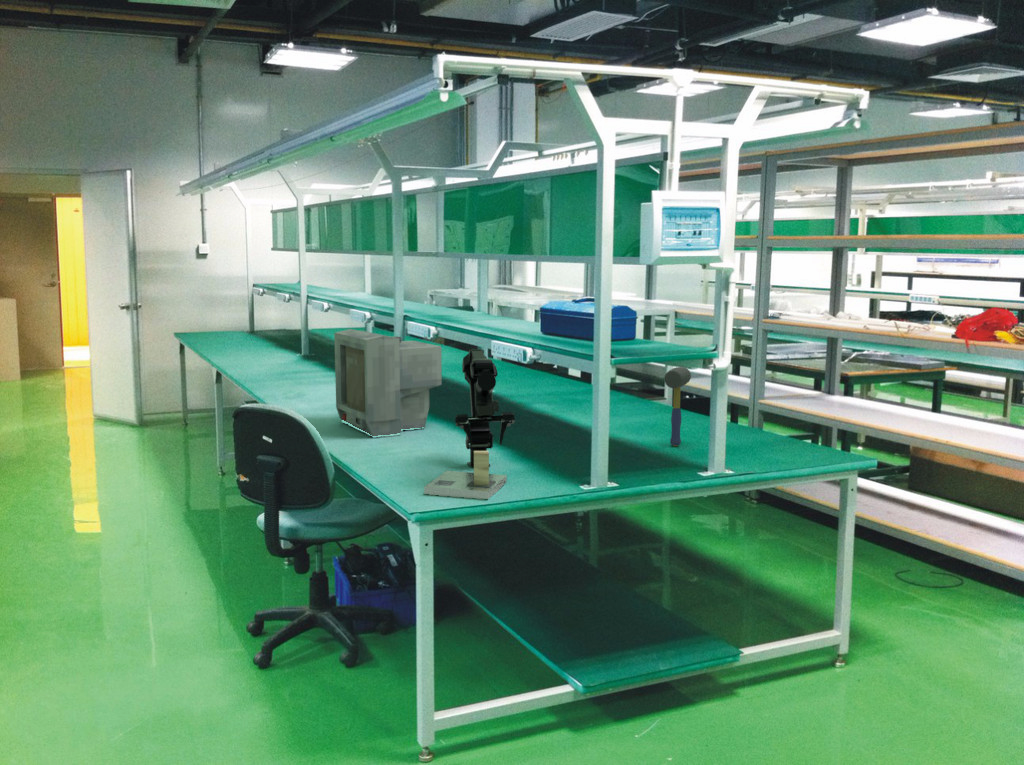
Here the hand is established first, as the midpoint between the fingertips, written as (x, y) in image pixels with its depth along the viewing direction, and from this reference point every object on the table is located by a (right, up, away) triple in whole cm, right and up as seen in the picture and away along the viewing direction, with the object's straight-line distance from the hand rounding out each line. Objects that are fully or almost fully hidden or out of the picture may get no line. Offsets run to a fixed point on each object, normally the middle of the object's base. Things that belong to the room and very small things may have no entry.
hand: (486, 445), depth 274 cm
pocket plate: (-6, -13, -7) cm, 16 cm away
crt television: (-42, +1, +88) cm, 98 cm away
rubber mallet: (+70, -4, +54) cm, 89 cm away
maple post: (-1, -10, -11) cm, 16 cm away
